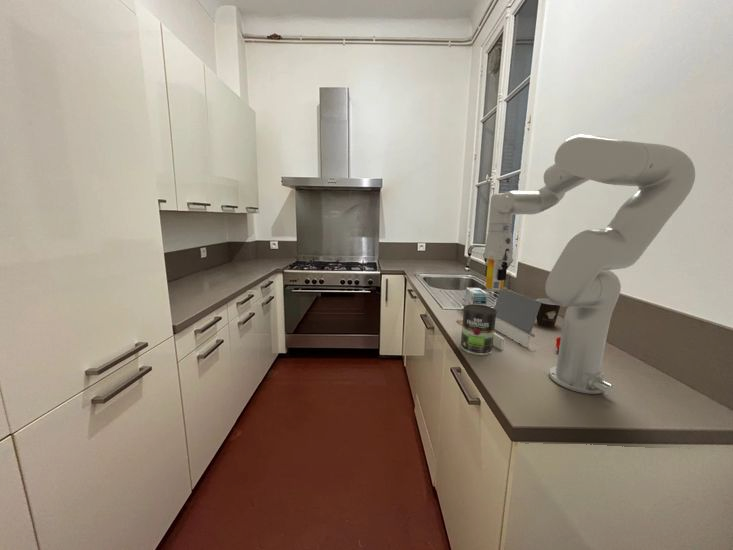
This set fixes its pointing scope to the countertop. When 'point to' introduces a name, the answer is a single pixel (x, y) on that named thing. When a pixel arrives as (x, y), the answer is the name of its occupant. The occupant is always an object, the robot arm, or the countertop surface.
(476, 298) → the light bulb box
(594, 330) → the robot arm
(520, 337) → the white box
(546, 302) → the coffee mug
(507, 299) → the cover
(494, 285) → the beer can
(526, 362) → the countertop surface
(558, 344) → the apple
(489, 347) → the coffee can
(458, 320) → the coaster
